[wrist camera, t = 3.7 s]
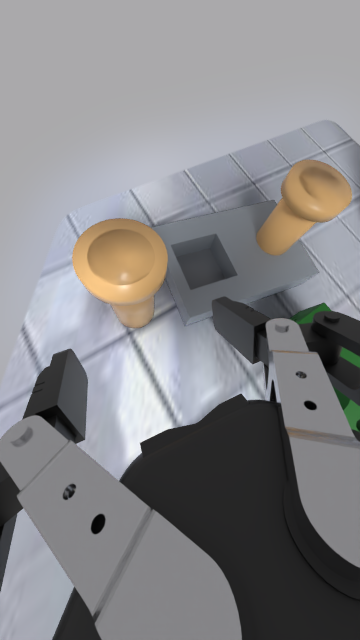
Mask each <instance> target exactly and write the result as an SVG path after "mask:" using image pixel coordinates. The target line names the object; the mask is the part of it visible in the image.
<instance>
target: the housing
mask: <svg viewBox="0 0 360 640" xmlns="http://www.w3.org/2000/svg"><path fill="white" fill-rule="evenodd" d="M281 194H282V199H281V200H280V202H279V203H278V204H276V202H275V201H274V200H271V201H266V202H262V203H257V204H253V205H248V206H244V207H239V208H235V209H230V210H226V211H222V212H217V213H213V214H208V215H204V216H199V217H195V218H190V219H186V220H181V221H177V222H172V223H168V224H163V225H159V226H154V227H151V229H153V230H154V231H155V232H156V233H157V234H158V235H159V236H160V238H161V239H162V240H163V242H164V244H165V247H166V249H167V254H168V262H167V271H166V277H165V279H166V281H167V284H168V286H169V288H170V291H171V293H172V296H173V298H174V301H175V303H176V305H177V308H178V310H179V313H180V315H181V317H182V320H183V322H184V325H185V326H187V325H190V324H192V323H195V322H198V321H201V320H203V319H206V318H209V317H212V316H213V313H212V300H214V299H217V298H220V297H223V296H225V297H227V298H229V299H231V300H232V301H237V302H241V303H244V304H248V303H251V302H253V301H256V300H259V299H262V298H265V297H267V296H270V295H273V294H276V293H278V292H281V291H284V290H287V289H290V288H292V287H295V286H298V285H301V284H302V283H304V282H305V281H307V280H309V279H310V278H312V277H313V276H315V275H316V274H318V273H319V271H318V269H317V268H316V266H315V264H314V263H313V261H312V260H311V258H310V256H309V255H308V253H307V252H306V250H305V248H304V247H303V245H302V244H301V242H300V240H299V238H300V237H302V236H303V235H304V234H305V233H306V232H307V231H308V230H309V229H310V228H311V227H312V226H313V225H314V224H315V223H316V222H328V221H330V220H332V219H333V218H335V217H336V216H337V215H338V214H339V213H340V212H341V211H343V210H344V209H345V208H346V207H347V206H348V205H349V204H350V202H351V199H352V191H351V188H350V185H349V183H348V182H347V180H346V179H345V178H344V176H343V175H342V174H341V173H340V172H338V171H337V170H336V169H335V168H333V167H331V166H330V165H328V164H326V163H323V162H320V161H316V160H302V161H299V162H297V163H296V164H295V165H294V166H293V167H292V168H291V170H290V171H289V173H288V175H287V176H286V178H285V179H284V181H283V182H282V185H281Z"/></svg>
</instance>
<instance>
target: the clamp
mask: <svg viewBox="0 0 360 640" xmlns="http://www.w3.org/2000/svg"><path fill="white" fill-rule="evenodd" d="M321 311H331V310H330V308H329V307H328V306H327V305H326V304H325V303H322V304H319V305H316V306H314V307H311V308H308V309H305V310H302V311H300V312H298V313H297V314H295V315H294V316H293V317H291V318H290V319H289V320H292V321H294V322H296V323H297V324H305V323H311V322H312V320H313V316H314V314H315V313H317V312H321ZM340 356H341V357H342V358H344V359H346V360H347V361H349V362H351V363H352V364H354V365H356V366H357V367H359V368H360V357H359V356H358V355H356V354H354V353H352V352H350V351H349V350H347V349H345V348H342V351H341V354H340ZM332 387H333V389H334V391H335V393H336V396H337V398H338V400H339V402H340V405H341V407H342V409H343V412H344V414H345V416H346V418H347V421H348V423H349V425H350V427H351V429H353V430H356V431H359V432H360V406H358V405H357V404H356V403H355V402H353V401H352V400H351V399H349V398H348V397H347V396H345V395H344V394H343V393H341V392H340V391H339V390H337V389H336V388H335V387H334V386H332Z"/></svg>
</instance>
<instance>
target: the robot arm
mask: <svg viewBox="0 0 360 640" xmlns="http://www.w3.org/2000/svg"><path fill="white" fill-rule="evenodd" d="M212 313H213V323H214V326H215V329H216V330H217V331H218V332H219V333H220V334H221V335H222V336H223V337H224V338H225V339H226V340H227V341H228V342H229V343H230V344H231V345H233V346H234V347H235V348H236V349H237V350H238V351H239V352H240V353H241V354H242V355H243V356H244V357H246V358H247V359H248V360H249V361H250V362H251V363H252V364H254V363H257V362H259V361H262V362H263V374H264V385H265V395H266V400H248V401H247V400H246V399H245V398H244V396H243V395H242V394H239V395H237V396H235V397H233V398H231V399H229V400H227V401H225V402H223V403H221V404H219V405H218V406H217V407H215V408H214V409H213V410H212V411H211V412H210V413H209V414H207V415H206V416H205V417H204V418H203V419H202V420H201V421H199V422H198V423H196V424H192V425H187V426H182V427H177V428H173V429H168V430H166V431H164V432H162V433H160V434H157V435H155V436H153V437H151V438H149V439H147V440H145V441H143V442H141V443H140V445H141V450H142V453H141V454H140V455H139V456H138V457H137V458H136V459H135V460H134V461H133V462H132V463H131V464H130V466H129V467H128V468H127V469H126V471H125V472H124V474H123V475H122V477H121V479H120V480H119V481H118V480H117V479H116V478H115V477H113V476H112V475H111V474H110V473H109V472H108V471H106V470H105V469H104V468H103V467H102V466H101V465H99V464H98V463H97V462H96V461H95V460H94V459H92V458H91V457H90V456H89V455H88V454H87V453H85V452H84V451H83V450H82V449H81V448H79V447H78V446H77V445H76V443H79V442H81V441H83V440H85V430H86V409H87V388H88V379H87V375H86V372H85V370H84V368H83V367H82V365H81V363H80V362H79V360H78V358H77V357H76V355H75V353H74V352H73V350H72V349H67V350H64V351H62V352H59V353H56V354H54V355H53V357H52V360H51V363H50V366H49V367H46V368H45V369H44V370H43V371H42V372H41V373H40V375H39V376H38V378H37V380H36V383H35V387H34V389H33V391H32V394H31V397H30V400H29V402H28V405H27V408H26V410H25V413H24V416H23V419H22V420H21V421H19V422H18V423H16V424H15V425H13V426H12V427H11V428H10V429H9V430H8V431H7V432H6V433H5V434H4V435H3V436H2V438H1V439H0V591H1V587H2V582H3V577H4V573H5V568H6V564H7V559H8V554H9V550H10V545H11V541H12V536H13V531H14V527H15V522H16V518H17V513H18V512H19V511H21V510H22V509H23V508H24V509H25V511H26V513H27V514H28V516H29V517H30V519H31V520H32V522H33V523H34V525H35V526H36V528H37V529H38V531H39V533H40V534H41V536H42V537H43V539H44V540H45V542H46V543H47V545H48V546H49V548H50V549H51V551H52V553H53V554H54V556H55V557H56V559H57V560H58V562H59V563H60V565H61V566H62V568H63V569H64V571H65V573H66V574H67V576H68V577H69V579H70V580H71V582H72V583H73V585H74V589H73V591H72V593H71V596H70V598H69V601H68V603H67V605H66V608H65V610H64V613H63V615H62V617H61V620H60V622H59V625H58V627H57V629H56V632H55V634H54V637H53V639H52V640H360V432H359V431H356V430H353V429H351V427H350V425H349V423H348V421H347V418H346V416H345V414H344V412H343V409H342V407H341V405H340V402H339V400H338V398H337V396H336V393H335V391H334V389H333V387H332V386H334V387H335V388H336V389H337V390H339V391H340V392H341V393H343V394H344V395H345V396H347V397H348V398H349V399H351V400H352V401H353V402H355V403H356V404H357V405H358V406H360V368H359V367H357V366H356V365H354V364H352V363H351V362H349V361H347V360H346V359H344V358H342V357H341V356H340V354H341V351H342V348H345V349H347V350H349V351H350V352H352V353H354V354H356V355H358V356H359V357H360V321H359V320H356V319H354V318H351V317H349V316H347V315H344V314H342V313H339V312H334V311H321V312H317V313H315V314H314V316H313V320H312V322H311V323H305V324H297V323H296V322H294V321H292V320H289V319H285V318H275V319H270V318H268V317H267V316H265V315H263V314H261V313H260V312H258V311H256V310H254V309H253V308H251V307H250V308H249V306H247V305H246V304H244V303H241V302H237V301H232V300H231V299H229V298H227V297H225V296H223V297H220V298H217V299H214V300H212Z"/></svg>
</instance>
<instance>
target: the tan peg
mask: <svg viewBox="0 0 360 640" xmlns="http://www.w3.org/2000/svg"><path fill="white" fill-rule="evenodd" d="M72 259H73V266H74V270H75V272H76V274H77V276H78V278H79V279H80V280H81V282H82V283H83V285H84V286H85V287H86V289H87V290H88V291H89V292H90V293H91V294H92V295H93V296H94V297H96V298H97V299H99V300H101V301H103V302H105V303H108V304H110V305H111V306H112V308H113V310H114V312H115V313H116V315H117V317H118V319H119V320H120V322H121V323H122V324H123V325H125V326H127V327H129V328H141V327H143V326H145V325H147V324H148V323H149V322H150V321H151V319H152V318H153V315H154V294H155V293H157V291H158V290H159V289H160V288H161V286H162V284H163V282H164V280H165V277H166V271H167V262H168V254H167V249H166V247H165V244H164V242H163V240H162V239H161V238H160V236H159V235H158V234H157V233H156V232H155V231H154V230H153V229H151V228H150V227H148V226H147V225H145V224H143V223H141V222H138V221H135V220H130V219H121V218H119V219H109V220H105V221H102V222H99V223H97V224H95V225H93V226H91V227H90V228H88V229H87V230H86V231H85V232H84V233H83V234H82V235H81V236H80V237H79V239H78V240H77V242H76V244H75V246H74V250H73V256H72Z"/></svg>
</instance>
